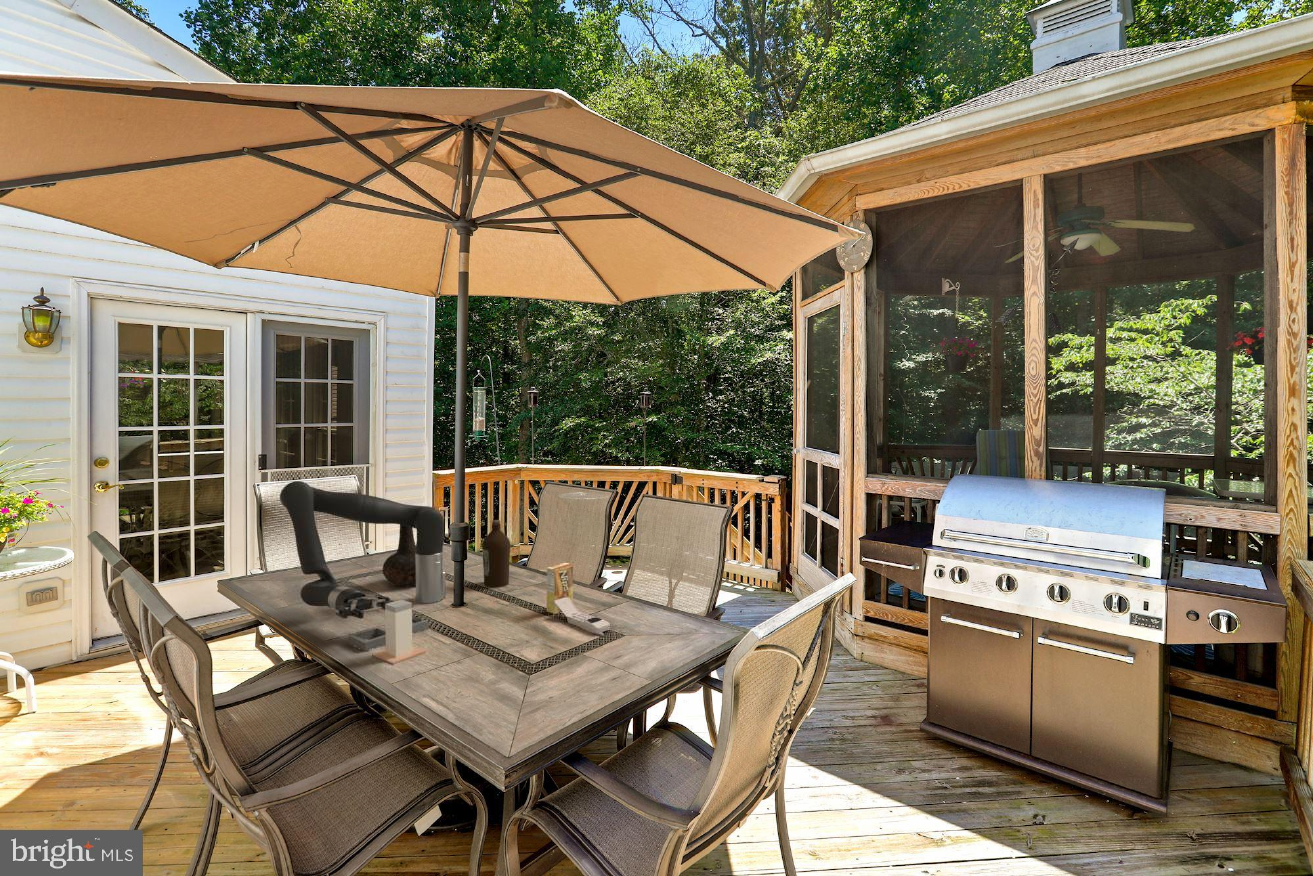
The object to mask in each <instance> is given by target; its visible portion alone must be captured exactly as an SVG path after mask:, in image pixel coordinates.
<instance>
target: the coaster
mask: <svg viewBox="0 0 1313 876" xmlns="http://www.w3.org/2000/svg"><path fill="white" fill-rule="evenodd" d="M425 652H427V650H425V649H423V648H419V647H417V646H415V645H412V652H410V653H407V654H404V655H401V656H399V657H394V656H392V655H389V654H387V653H386V648H385V649H383V650H380V651H377V652H374V653H372V656H373V657H375V656H376V658H377V657H378V659H381V660H383V661H384V660H385V661H384V662H387V663H388V664H392V665H396V664H398V663H401V662H404V661H406V660H410V659H412V658H414V656H415V657H417V656H420V655H423V654H426V653H425ZM403 660H404V661H403Z"/></svg>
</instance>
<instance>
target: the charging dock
mask: <svg viewBox="0 0 1313 876" xmlns="http://www.w3.org/2000/svg"><path fill="white" fill-rule="evenodd" d="M427 628H428V629H429V620H426V619H423V618H420V617H417V616H412V633H414V634H417V633H419V632H418V631H420V632H422V631H421V630H423V631H425V630H424V629H426V630H428V629H427ZM416 632H417V633H416ZM375 636H376V637H375ZM377 636H378V637H377ZM371 637H373V638H371ZM369 638H370V639H369ZM365 639H367V640H365ZM348 643H349V644H350V646H352V645H353V646H352V647H354V646H356V647H357V649H359V648H360V649H359V650H361V649H362V651H363V650H365V651H366V650H369V651H371V650H373V649H372V648H374V649H377V648H379V647H378V646H380V647H383V646H386V628H384V627H381V626H379V625H378V626H375V627H371V628H368V629H365V630H364V629H363V630H361V631H358V632H355V633H352V634H351V633H350V634H348V635H347V644H348ZM349 644H348V645H349ZM382 645H383V646H382ZM356 647H355V648H356ZM376 647H377V648H376ZM370 649H371V650H370ZM365 651H364V652H365ZM366 652H367V651H366Z"/></svg>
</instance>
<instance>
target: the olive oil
mask: <svg viewBox="0 0 1313 876" xmlns="http://www.w3.org/2000/svg"><path fill="white" fill-rule="evenodd" d="M501 526H502V525H501V520H500V519H493V520H491V531H490V532H489V533H488V534H487V535H486V536H485V537H484V539H483V540H482V543H481V544H482V546H481V548H482V549H481V552H482V566H483V585H484V586H485V587H489V588H501V587H506V586H507V585H509V584H510V583H509V582H510V558H511V541H510V538H509V537H508V536H507V535H506V534H505V533H504V532H503V530H501V528H502V527H501Z"/></svg>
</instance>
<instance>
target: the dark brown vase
mask: <svg viewBox="0 0 1313 876" xmlns="http://www.w3.org/2000/svg"><path fill="white" fill-rule="evenodd" d="M415 546H416V542H415V538H414V528H412V527H409V526H405V525H400V524H399V537H398V545H397V547H398V548H397V549H396V552H395V553H393V554H391V555H390V556H387V558H386V559H385V561H384V562H383V565H382V574H383V576H384V578H385V579H386V580H387V581H388V582H389V583H390V584H392V585H393V586H396V587H397V586H398V587H412V586H416V565H415Z"/></svg>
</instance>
